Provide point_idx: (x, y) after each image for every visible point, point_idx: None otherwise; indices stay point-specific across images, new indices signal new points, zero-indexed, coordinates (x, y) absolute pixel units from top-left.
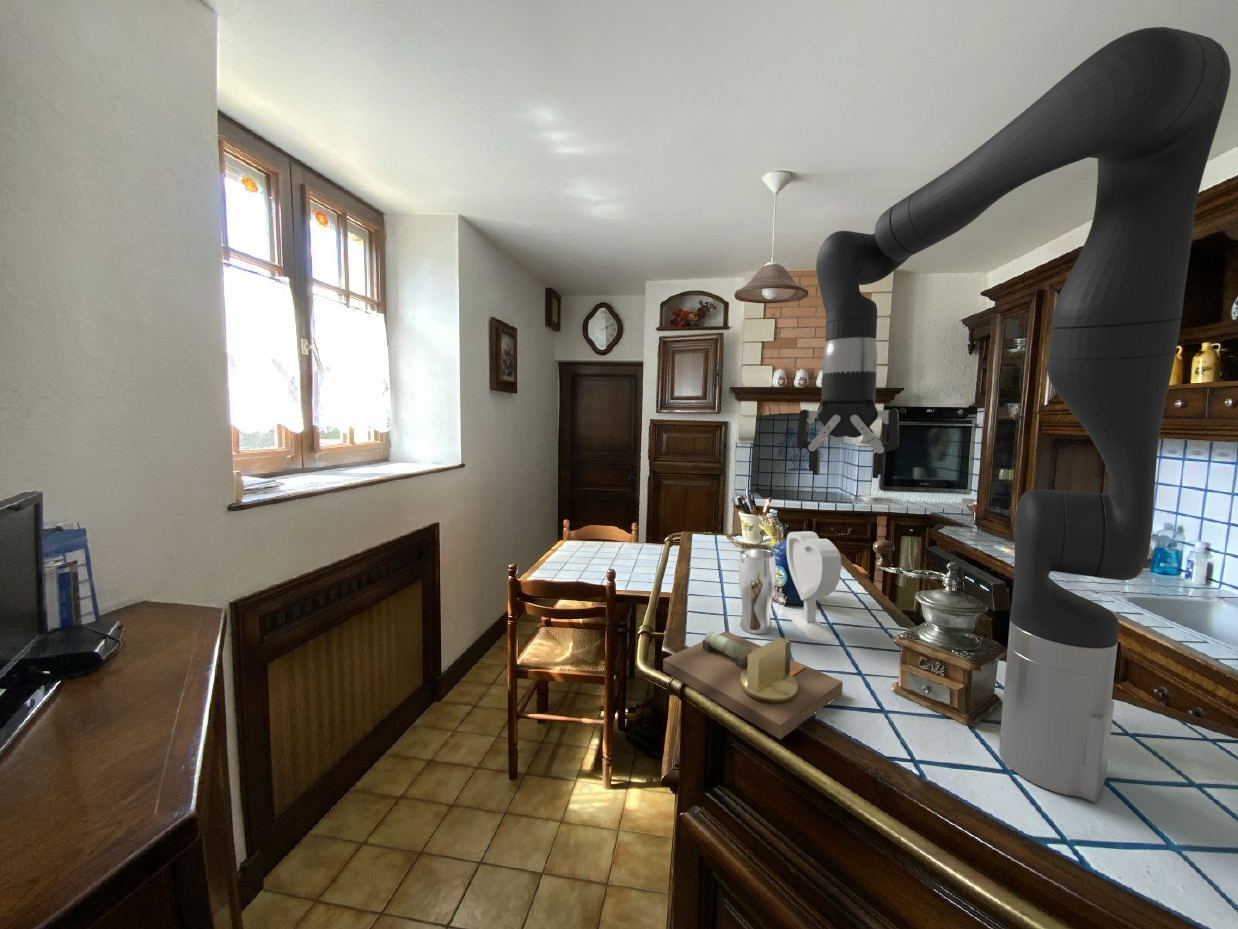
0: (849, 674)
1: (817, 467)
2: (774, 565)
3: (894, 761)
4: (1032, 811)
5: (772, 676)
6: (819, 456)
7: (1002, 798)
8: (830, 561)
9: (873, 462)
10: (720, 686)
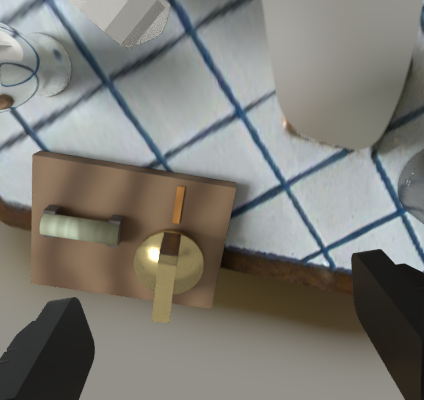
0: (227, 124)
1: (82, 376)
2: (12, 63)
3: (308, 262)
4: (412, 252)
5: (175, 274)
6: (40, 384)
7: (392, 252)
8: (140, 27)
9: (393, 377)
10: (125, 289)
